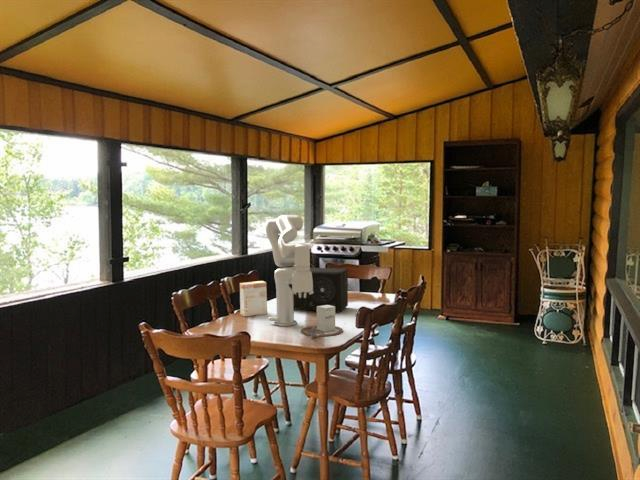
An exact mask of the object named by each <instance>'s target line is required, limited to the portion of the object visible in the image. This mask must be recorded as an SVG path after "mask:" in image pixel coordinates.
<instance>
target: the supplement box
mask: <svg viewBox="0 0 640 480" xmlns="http://www.w3.org/2000/svg"><path fill="white" fill-rule="evenodd" d="M316 325H317V327H316V331H317V330H318V331H321V332H324V333H326V332H330V331H335V330H336V329H335V326H336V313H335V306H330V305H323V306H317V310H316Z"/></svg>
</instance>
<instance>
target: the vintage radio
mask: <svg viewBox="0 0 640 480" xmlns="http://www.w3.org/2000/svg"><path fill="white" fill-rule="evenodd" d="M310 272H311V273H312V279H313V292H314V293H313V294H310V295H308V296H307V297H306V304H305V306H301V304H300V298H299V296H298V295H296V294H294V310H303V311H304V310H305V311H306V310H307V311H317V306H323V305H330V306H335V314H336V313H339V312H341V311H343V310H344V309H345V308H347V307H348V305H349V302H348V301H349V299H348V298H349V295H348V294H349V293H348V292H349V291H348V290H349V289H348V288H349V287H348V286H349V285H348V283H349V281H348V280H349V276H348V274H349V270H348V269H347V268H338V267H337V268H330V267H329V268H328V267H310ZM289 287H290V288H291V289H292V284H289ZM307 293H308V292H307ZM302 296H303V297H304V292H302Z"/></svg>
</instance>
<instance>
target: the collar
mask: <svg viewBox="0 0 640 480" xmlns="http://www.w3.org/2000/svg"><path fill="white" fill-rule="evenodd" d="M308 329H311V330H310V331H311V333H310V332H307V331H306V330H308ZM335 330H337V331H336V332H332V333H324V334H323V333H322V334H321V333H320V334H319V333H317V324H315V325H314V324H313V325H309V326H305V327H302V328H301V329H300V333H301V334H303V335H304V336H309V337H311V339H315V338H316V337H317V338H318V337H331V336H337V335H341V334H342V333H343V332H344V329H343V328H342V327H340V326H336V325H335Z"/></svg>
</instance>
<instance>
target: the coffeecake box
mask: <svg viewBox="0 0 640 480" xmlns="http://www.w3.org/2000/svg"><path fill="white" fill-rule="evenodd" d="M267 290H268V289H267V281H264V280H257V281H248V282H247V281H246V282H239V305H240V307H239V308H240V309H239V310H240V315H241V316H243V317H250V316H251V317H252V316H259V315H267V314H268V297H267V296H268V294H267Z"/></svg>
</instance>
